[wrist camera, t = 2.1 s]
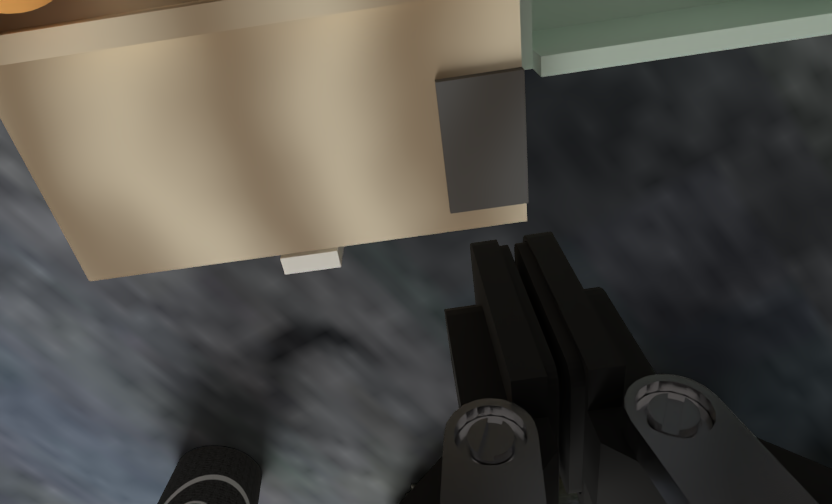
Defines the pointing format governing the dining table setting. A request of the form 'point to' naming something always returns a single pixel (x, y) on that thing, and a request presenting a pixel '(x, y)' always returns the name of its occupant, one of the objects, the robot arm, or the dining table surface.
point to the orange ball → (21, 5)
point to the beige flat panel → (264, 124)
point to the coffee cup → (214, 478)
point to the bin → (656, 29)
